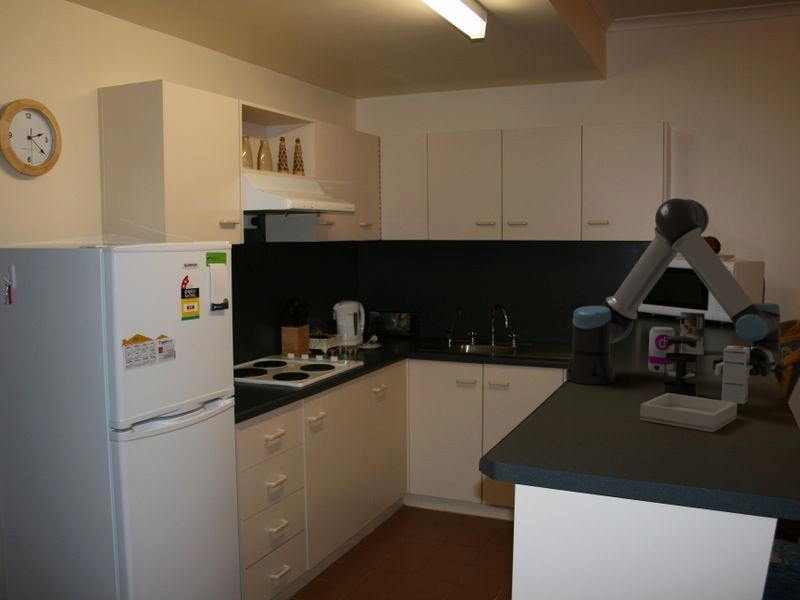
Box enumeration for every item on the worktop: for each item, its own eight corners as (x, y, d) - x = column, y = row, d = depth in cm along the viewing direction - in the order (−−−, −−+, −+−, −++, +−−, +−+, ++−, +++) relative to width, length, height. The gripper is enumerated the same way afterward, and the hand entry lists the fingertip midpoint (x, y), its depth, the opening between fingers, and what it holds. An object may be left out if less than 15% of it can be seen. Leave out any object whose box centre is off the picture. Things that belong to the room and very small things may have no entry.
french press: (695, 400, 213) (698, 320, 211) (660, 397, 217) (663, 318, 215) (698, 393, 223) (702, 316, 221) (665, 389, 227) (668, 314, 225)
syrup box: (744, 404, 197) (748, 349, 195) (720, 401, 200) (723, 347, 198) (747, 400, 202) (751, 347, 200) (724, 397, 205) (727, 344, 203)
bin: (640, 419, 191) (640, 404, 191) (666, 407, 205) (667, 392, 204) (713, 432, 179) (713, 415, 179) (736, 418, 193) (737, 403, 193)
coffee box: (703, 352, 299) (705, 312, 298) (703, 355, 293) (705, 314, 292) (679, 351, 302) (680, 311, 301) (678, 353, 297) (680, 313, 295)
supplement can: (675, 374, 253) (676, 329, 252) (649, 372, 255) (651, 329, 254) (671, 369, 261) (673, 326, 260) (646, 368, 263) (648, 326, 262)
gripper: (791, 378, 208) (768, 392, 190) (719, 369, 220) (692, 380, 203) (793, 351, 207) (770, 362, 189) (721, 343, 219) (693, 353, 202)
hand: (730, 372), depth 196 cm, fingers closed on syrup box, 6 cm apart
